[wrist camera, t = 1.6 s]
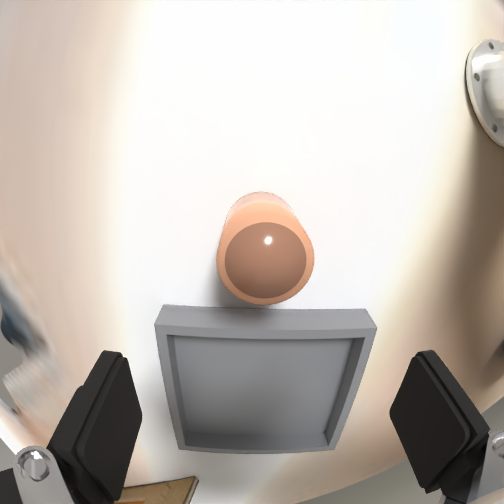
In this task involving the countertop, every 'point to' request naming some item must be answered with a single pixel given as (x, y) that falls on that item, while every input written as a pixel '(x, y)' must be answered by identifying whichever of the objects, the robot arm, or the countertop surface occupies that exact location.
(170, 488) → the picture frame
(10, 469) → the robot arm
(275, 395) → the grey square tray
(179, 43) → the countertop surface
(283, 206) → the terracotta cup
